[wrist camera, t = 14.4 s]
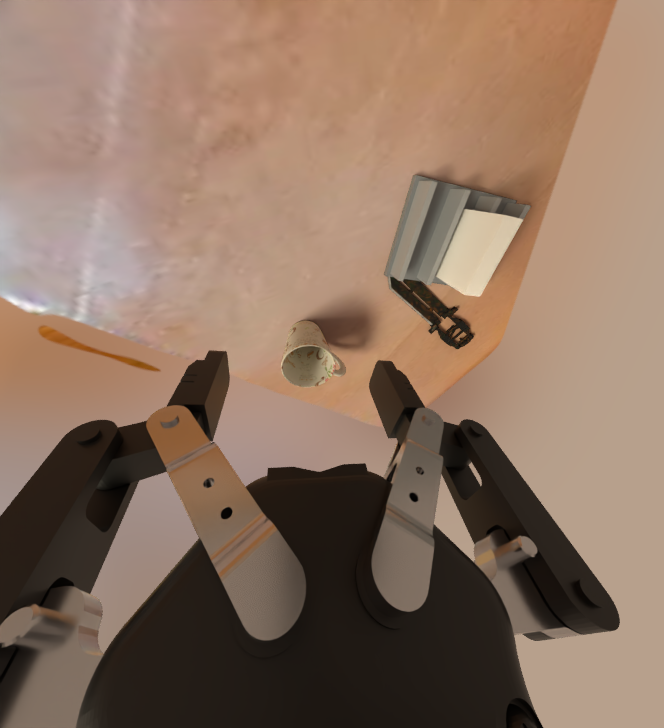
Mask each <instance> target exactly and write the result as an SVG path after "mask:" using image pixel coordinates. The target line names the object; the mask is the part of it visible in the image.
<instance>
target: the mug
mask: <svg viewBox="0 0 664 728" xmlns="http://www.w3.org/2000/svg"><path fill="white" fill-rule="evenodd" d="M335 361H336V362H337V363H338V364H339V366H340V369H339V370H335ZM281 370H282V373H283V375H284V377H285V378H286V379H287V380H288V381H289V382H290V383H292V384H294V385H296V386H299V387H315V386H318V385H321V384H323V383H324V382H326V381H327V380H328V379H329V378H330V377H331V376H332V375H335V376H343V375H344V374H345V373H346V367H345V365H344V363H343V362H342V361H341V360H340V359H339V358H338V357H337V356H336V355H335V354H333V353H332V352H331V350H330V348H329V346H328V344H327V342H326V340H325V338H324V336H323V334H322V332H321V330H320V328H319V327H318V325H316V324H315V323H313V322H311V321H300V322H297V323H296V324H294V325H293V326H292V327H291V329H290V331H289V335H288V339H287V343H286V347H285V350H284V354H283V358H282V363H281Z"/></svg>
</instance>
